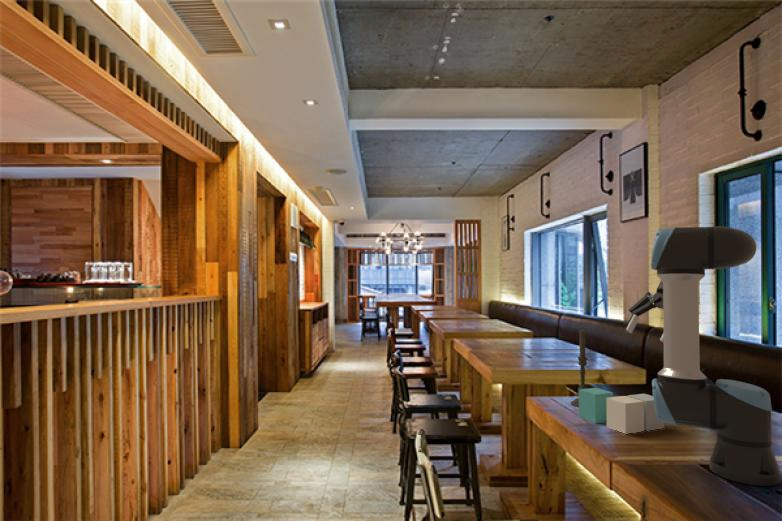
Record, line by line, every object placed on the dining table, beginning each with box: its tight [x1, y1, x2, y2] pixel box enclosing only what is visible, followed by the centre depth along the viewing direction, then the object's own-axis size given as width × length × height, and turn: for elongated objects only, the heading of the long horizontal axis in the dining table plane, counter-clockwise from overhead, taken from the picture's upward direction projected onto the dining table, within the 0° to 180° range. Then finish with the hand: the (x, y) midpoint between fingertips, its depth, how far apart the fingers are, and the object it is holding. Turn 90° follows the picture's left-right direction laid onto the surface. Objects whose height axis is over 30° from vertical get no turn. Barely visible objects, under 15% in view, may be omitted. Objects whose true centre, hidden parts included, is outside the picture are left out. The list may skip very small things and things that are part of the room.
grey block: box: [626, 393, 665, 432], centre depth 171 cm, size 8×8×10 cm
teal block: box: [578, 387, 614, 424], centre depth 180 cm, size 8×8×10 cm
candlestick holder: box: [570, 328, 589, 408], centre depth 199 cm, size 9×9×30 cm
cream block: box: [606, 395, 645, 435], centre depth 167 cm, size 8×8×10 cm
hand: (645, 336), depth 178 cm, fingers open, 13 cm apart
